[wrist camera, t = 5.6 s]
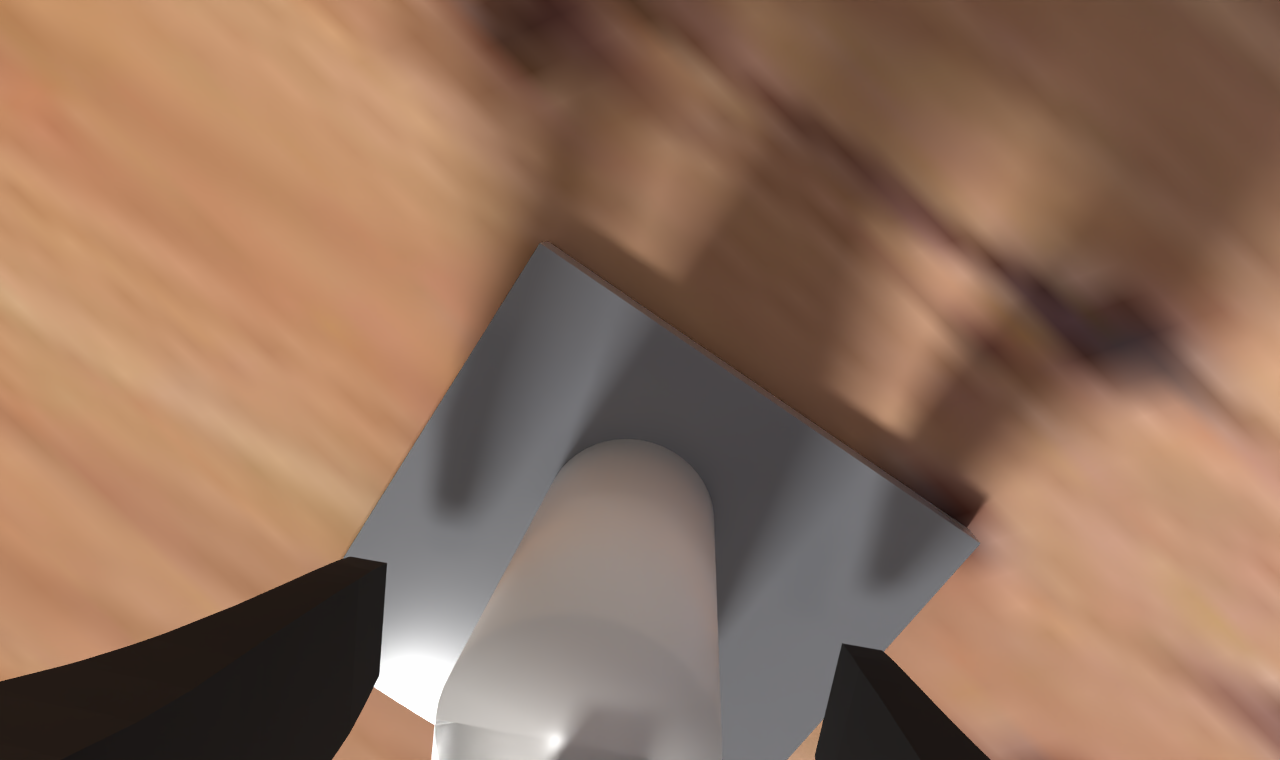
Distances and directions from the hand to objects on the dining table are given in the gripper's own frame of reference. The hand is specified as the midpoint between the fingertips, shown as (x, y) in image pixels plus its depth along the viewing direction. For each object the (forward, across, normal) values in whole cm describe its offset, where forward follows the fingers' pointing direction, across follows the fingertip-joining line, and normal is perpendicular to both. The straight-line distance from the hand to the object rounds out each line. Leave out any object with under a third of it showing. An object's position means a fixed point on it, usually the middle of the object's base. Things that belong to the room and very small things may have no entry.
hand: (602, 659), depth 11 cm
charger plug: (+2, 0, 0) cm, 2 cm away
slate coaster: (+3, 0, 0) cm, 3 cm away
